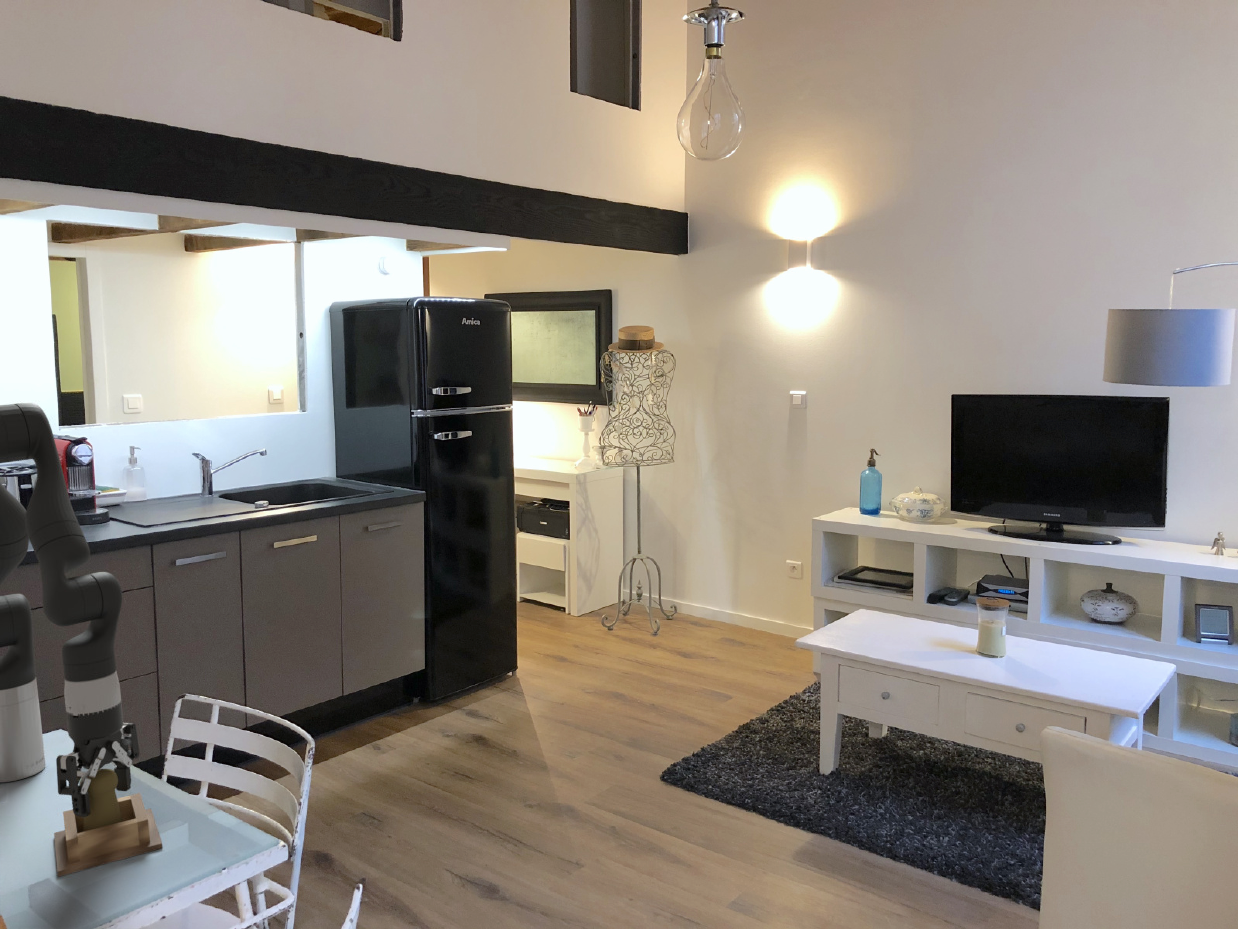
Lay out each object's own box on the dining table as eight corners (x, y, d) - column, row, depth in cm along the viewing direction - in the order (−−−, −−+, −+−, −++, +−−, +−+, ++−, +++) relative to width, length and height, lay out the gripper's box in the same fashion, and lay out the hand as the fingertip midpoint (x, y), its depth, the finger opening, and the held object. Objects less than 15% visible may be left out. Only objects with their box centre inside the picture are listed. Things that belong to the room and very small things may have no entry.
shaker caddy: (58, 877, 140) (54, 848, 140) (54, 837, 152) (51, 810, 152) (162, 848, 148) (159, 820, 147) (151, 812, 160) (149, 787, 159)
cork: (82, 853, 145) (74, 784, 144) (82, 836, 151) (76, 769, 149) (126, 842, 148) (120, 775, 147) (125, 826, 153) (119, 760, 152)
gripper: (106, 685, 155) (116, 781, 157) (35, 719, 141) (47, 823, 143) (146, 687, 153) (156, 784, 155) (78, 722, 140) (89, 827, 141)
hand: (103, 802), depth 149 cm, fingers open, 8 cm apart
